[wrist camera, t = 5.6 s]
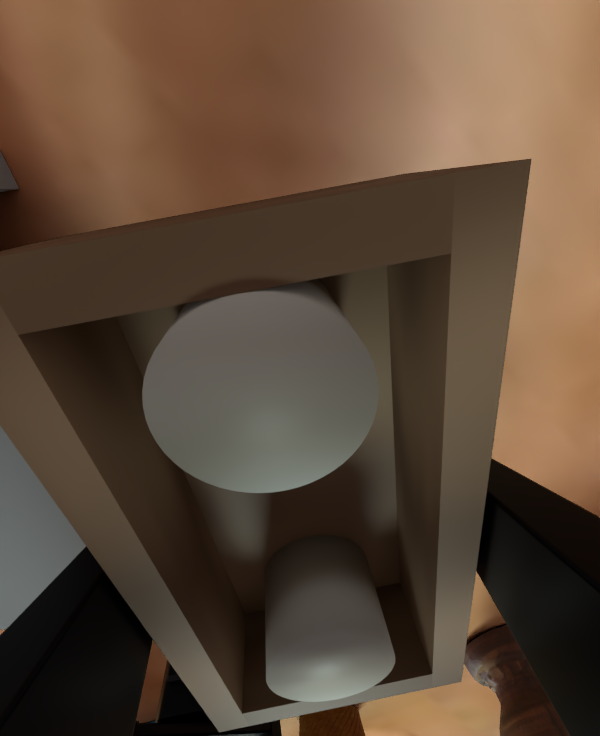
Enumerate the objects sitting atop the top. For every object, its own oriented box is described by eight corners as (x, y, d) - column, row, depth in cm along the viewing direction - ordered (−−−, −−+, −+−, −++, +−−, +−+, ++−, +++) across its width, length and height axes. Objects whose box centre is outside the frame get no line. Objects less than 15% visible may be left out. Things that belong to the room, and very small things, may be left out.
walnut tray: (68, 235, 6) (-117, 277, 3) (404, 173, 7) (539, 157, 3) (229, 593, 12) (218, 737, 9) (410, 557, 12) (463, 686, 9)
